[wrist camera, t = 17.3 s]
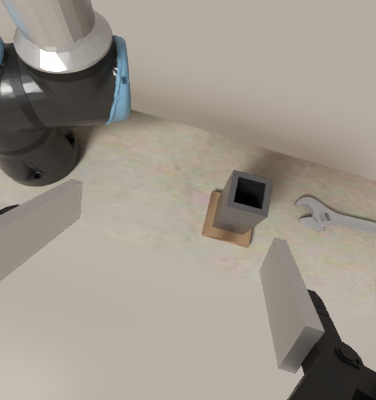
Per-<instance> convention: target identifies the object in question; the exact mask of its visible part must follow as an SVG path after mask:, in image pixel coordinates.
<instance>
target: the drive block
mask: <svg viewBox="0 0 376 400" xmlns="http://www.w3.org/2000/svg"><path fill="white" fill-rule="evenodd" d="M220 195H221V193H219V192H216V191H212V194H211V198H210V202H209V206H208V210H207V215H206V219H205V223H204V227H203V231H202V235H203V236H207V237H211V238H214V239H218V240H222V241H225V242H229V243H233V244H236V245H240V246H244V247H249V245H250V239H251V233H252V229H250V230H249V231H248V232H246V233H245V234H244V235H241V234H237V233H233V232H229V231H226V230H222V229H218V228H215V227H212V225H213V220H214V216H215V212H216V207H217V203H218V198H219V196H220Z"/></svg>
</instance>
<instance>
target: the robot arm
mask: <svg viewBox="0 0 376 400" xmlns="http://www.w3.org/2000/svg"><path fill="white" fill-rule="evenodd" d="M2 2H3V4H4V6H5V7H6V9H7V11H8V12H9V14H10V16H11V17H12V19H13V21H14V22H15V24H16V26H17V28H16V31H15V34H14V43H9V44H5V43H3V40H2V38H1V37H0V168H1V169H2V170H3V171H4V173H5V174H7V175H8V176H9V177H11V178H12V179H13V180H15V181H16V182H18V183H20V184H23V185H27V186H44V185H49V184H52V183H54V182H57V181H59V180H60V179H62V178H64V177H65V176H66V175H67V174H69V173H70V172H71V171H72V169H73V168H74V167H75V165H76V163H77V162H78V159H79V156H80V144H79V141H78V139H77V137H76V135H75V134H74V132H73V131H72V129H71V128H70V127H80V126H92V125H103V124H105V125H108V124H110V123H113V122H119V121H124V120H126V119H127V118H128V117H129V115H130V112H131V98H130V83H129V69H128V58H127V49H126V43H125V40H124V39H123V38H122V37H118V36H116V35H115V36H113V35H112V31H111V28H110V26H109V24H108V22H107V21H106V20H105V18H104V17H103V16H101V15H100V14H99V13H97V12H96V11H94V10H93V8H92V4H91V1H90V0H2ZM81 197H82V182H80V181H76V180H73V179H71V180H69V181H67V182H65V183H63V184H61V185H59V186H57V187H55V188H53V189H51V190H49V191H47V192H45V193H43V194H41V195H39V196H37V197H35V198H33V199H31V200H29V201H27V202H25V203H23V204H21V205H18V204H17V205H13V206H9V207H6V208H3V209H1V210H0V281H1V280H3V279H4V278H5V277H6V276H8V275H9V274H10V273H11V272H12V271H14V270H15V269H16V268H18V267H19V266H20V265H21V264H22V263H24V262H25V261H26V260H28V259H29V258H30V257H31V256H33V255H34V254H35V253H36V252H38V251H39V250H40V249H41V248H43V247H44V246H45V245H46V244H48V243H49V242H50V241H51V240H53V239H54V238H55V237H56V236H58V235H59V234H60V233H61V232H63V231H64V230H65V229H67V228H68V227H69V226H70V225H72V224H73V223H74V222H75V221H77V220H78V219H79V218H80V212H81ZM259 271H260V276H261V281H262V286H263V291H264V296H265V302H266V307H267V312H268V317H269V322H270V328H271V333H272V338H273V343H274V348H275V353H276V359H277V364H278V368H279V369H282V370H286V371H289V372H292V373H296V372H297V371H298V369H299V368H300V366H301V365H302V368H303V372H304V376H303V378H302V379H301V380H300V382H299V383H298V384H297V386H296V387H295V389H294V391H293V392H292V394H291V395H290V396H289V398H288V399H287V400H376V372H374V371H373V370H371V369H369V368H367V367H366V366H364V365H363V362H362V360H361V358H360V357H359V355H358V354H357V353H356V352H355V351H354V350H353V349H352V348H351V347H350V346H348V345H347V344H345V343H344V342H342V341H341V339H340V336H339V334H338V332H337V331H336V328H335V326H334V324H333V322H332V320H331V318H330V317H329V313H328V311H327V310H326V307H325V305H324V303H323V301H322V299H321V298H320V297H319V296H318V295H317V294H316V292H315V291H311V290H308V289H307V288H306V286H305V284H304V281H303V279H302V277H301V274H300V272H299V270H298V267H297V265H296V263H295V260H294V258H293V256H292V253H291V251H290V249H289V246H288V244H287V241H285V240H281V239H278V238H274V240H273V242H272V244H271V246H270V249H269V251H268V253H267V255H266V257H265V259H264V262H263V264H262V266H261V268H260V270H259Z"/></svg>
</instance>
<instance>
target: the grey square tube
mask: <svg viewBox="0 0 376 400" xmlns="http://www.w3.org/2000/svg"><path fill="white" fill-rule="evenodd" d="M271 187H272V180H270V179H266V178H263V177H259V176H255V175H251V174H247V173H244V172H240V171H236V170H234V171H233V172H232V174H231V176H230V178H229V180H228V182H227V183H226V185H225V187H224V189H223V191H222V193H221V195H220V196H219V198H218V203H217V207H216V212H215V216H214V220H213V225H212V227H215V228H218V229H222V230H226V231H229V232H233V233H237V234H241V235H244V234H245V233H246V232H248V231H249V230H250V229H252V228H253V227H255V226H256V225H257V224H259V223H260V222H261V221H263V220H264V219H265V218H267V216H268V209H269V202H270V194H271Z"/></svg>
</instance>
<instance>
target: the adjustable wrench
mask: <svg viewBox="0 0 376 400" xmlns="http://www.w3.org/2000/svg"><path fill="white" fill-rule="evenodd" d="M298 206H305V207H306V208H307V209H308V210H309V211H310V213H311V217H306V218H300V219H299V220H298V222H299V223H300V224H301V225H303V226H305V227H307V228H309V229H314V230H316V231H317V232H318V231H324V227H325V226H328V225H335V226H340V227H343V228H347V229H351V230H355V231H358V232H362V233H366V234H370V235H373V236H376V223H375V222H371V221H366V220H362V219H358V218H354V217H350V216H345V215H341V214H338V213H336V212H334V211H332V210H330V209H329V208H327V207H325V206H324V205H323V204H321V203H320V202H319V201H317V200H316V199H314V198H311V197H303V198H301V199H299V200H298V201H296V202H295V204H294V207H298Z"/></svg>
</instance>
